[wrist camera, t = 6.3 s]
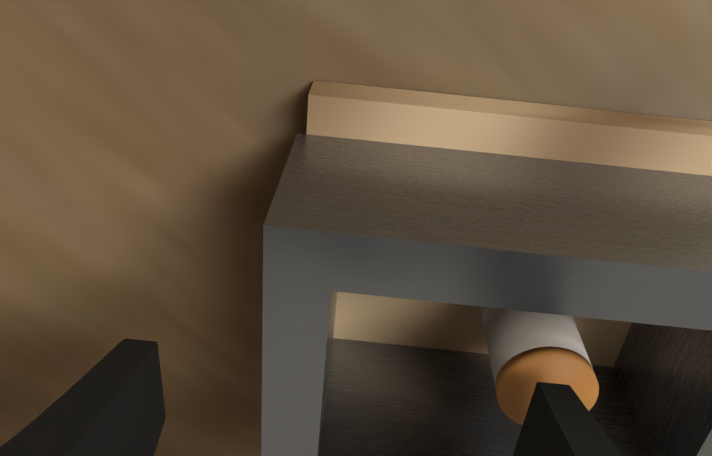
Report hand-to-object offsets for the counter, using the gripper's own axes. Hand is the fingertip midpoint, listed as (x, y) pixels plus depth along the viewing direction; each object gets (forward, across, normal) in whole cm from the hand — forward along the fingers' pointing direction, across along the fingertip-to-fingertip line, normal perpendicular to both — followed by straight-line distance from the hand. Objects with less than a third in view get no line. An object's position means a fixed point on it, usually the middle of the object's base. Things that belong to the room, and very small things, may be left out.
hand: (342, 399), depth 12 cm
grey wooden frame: (+4, -3, 0) cm, 5 cm away
